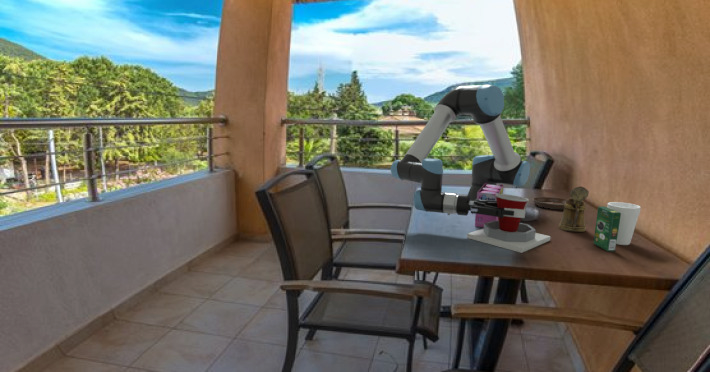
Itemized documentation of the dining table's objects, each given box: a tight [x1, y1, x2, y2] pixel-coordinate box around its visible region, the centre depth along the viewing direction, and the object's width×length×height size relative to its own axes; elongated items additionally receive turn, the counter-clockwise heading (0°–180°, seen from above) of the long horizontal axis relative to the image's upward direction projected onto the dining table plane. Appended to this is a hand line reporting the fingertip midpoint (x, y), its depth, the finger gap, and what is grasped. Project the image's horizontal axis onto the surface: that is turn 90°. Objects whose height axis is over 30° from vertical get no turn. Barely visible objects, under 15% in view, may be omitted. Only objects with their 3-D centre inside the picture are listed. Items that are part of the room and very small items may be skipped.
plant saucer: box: [532, 196, 567, 210], centre depth 195 cm, size 18×18×3 cm
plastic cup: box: [495, 193, 530, 232], centre depth 141 cm, size 11×11×12 cm
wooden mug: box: [558, 186, 590, 233], centre depth 153 cm, size 9×14×18 cm, turn 160°
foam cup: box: [606, 201, 642, 246], centre depth 141 cm, size 10×9×13 cm
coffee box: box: [593, 206, 621, 253], centre depth 134 cm, size 8×3×13 cm, turn 2°
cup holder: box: [466, 221, 551, 253], centre depth 143 cm, size 20×20×4 cm
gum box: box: [474, 183, 504, 228], centre depth 167 cm, size 24×8×14 cm, turn 155°
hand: (525, 211), depth 140 cm, fingers closed on plastic cup, 8 cm apart
